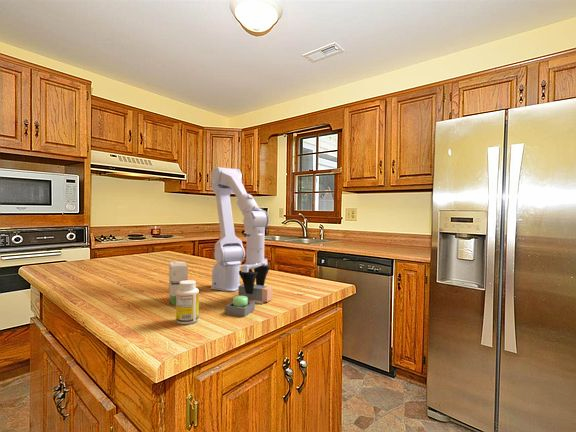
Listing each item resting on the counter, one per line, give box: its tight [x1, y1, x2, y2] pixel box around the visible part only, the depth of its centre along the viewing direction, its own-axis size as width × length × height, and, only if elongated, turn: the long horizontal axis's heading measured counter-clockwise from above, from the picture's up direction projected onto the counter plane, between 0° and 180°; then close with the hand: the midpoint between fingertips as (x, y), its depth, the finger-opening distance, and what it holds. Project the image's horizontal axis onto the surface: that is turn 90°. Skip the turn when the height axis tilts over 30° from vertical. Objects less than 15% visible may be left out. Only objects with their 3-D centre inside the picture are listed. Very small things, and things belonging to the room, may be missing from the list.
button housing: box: [224, 301, 256, 318], centre depth 87 cm, size 6×6×2 cm
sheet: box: [248, 299, 266, 305], centre depth 99 cm, size 9×7×1 cm
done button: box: [232, 295, 248, 308], centre depth 87 cm, size 4×4×3 cm
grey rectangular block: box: [237, 283, 273, 303], centre depth 99 cm, size 10×4×4 cm, turn 69°
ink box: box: [168, 261, 189, 306], centre depth 96 cm, size 9×5×12 cm, turn 26°
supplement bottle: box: [175, 279, 200, 325], centre depth 79 cm, size 6×6×10 cm
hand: (254, 290), depth 99 cm, fingers open, 7 cm apart
